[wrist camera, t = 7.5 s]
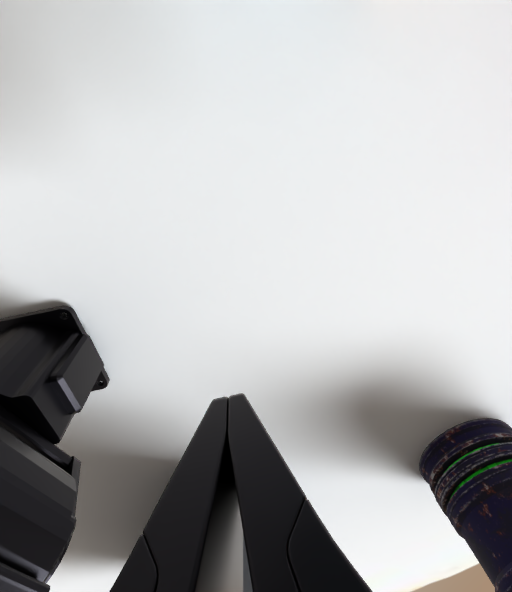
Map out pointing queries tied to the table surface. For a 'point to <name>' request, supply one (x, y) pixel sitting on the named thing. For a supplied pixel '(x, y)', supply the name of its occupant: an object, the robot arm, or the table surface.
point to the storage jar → (476, 490)
